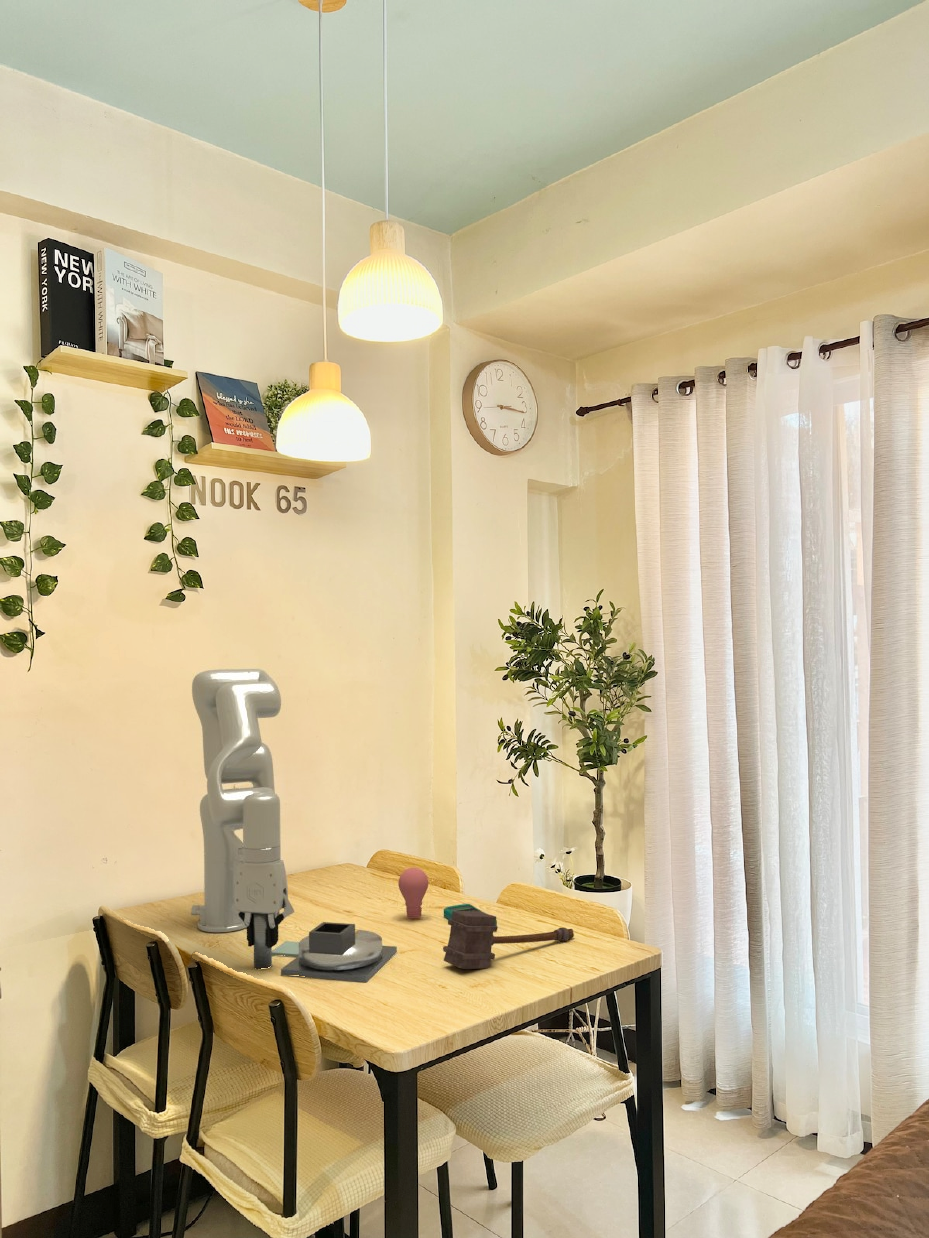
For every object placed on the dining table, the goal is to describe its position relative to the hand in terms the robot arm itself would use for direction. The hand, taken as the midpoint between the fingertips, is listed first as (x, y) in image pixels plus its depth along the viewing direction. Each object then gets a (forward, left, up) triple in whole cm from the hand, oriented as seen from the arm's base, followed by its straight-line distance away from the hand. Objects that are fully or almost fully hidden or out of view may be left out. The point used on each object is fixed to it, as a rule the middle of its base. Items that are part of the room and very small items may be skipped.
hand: (262, 944), depth 187 cm
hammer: (+49, +19, -5) cm, 52 cm away
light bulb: (+20, +38, -5) cm, 43 cm away
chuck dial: (+15, +5, -3) cm, 16 cm away
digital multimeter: (+34, +38, -5) cm, 51 cm away
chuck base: (+15, +5, -4) cm, 16 cm away
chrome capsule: (0, 0, -4) cm, 4 cm away
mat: (+2, +11, -4) cm, 12 cm away
